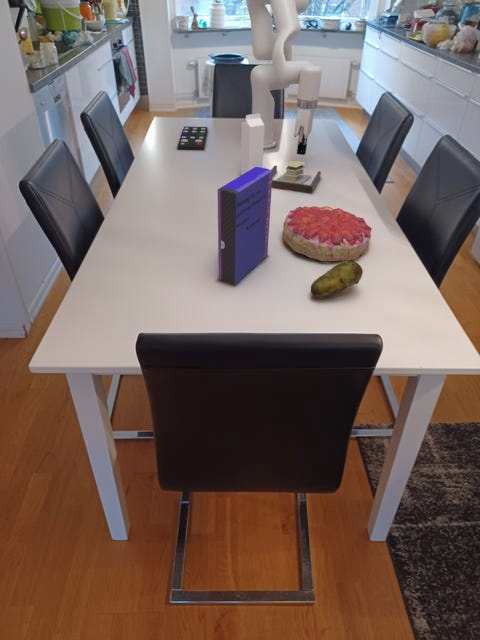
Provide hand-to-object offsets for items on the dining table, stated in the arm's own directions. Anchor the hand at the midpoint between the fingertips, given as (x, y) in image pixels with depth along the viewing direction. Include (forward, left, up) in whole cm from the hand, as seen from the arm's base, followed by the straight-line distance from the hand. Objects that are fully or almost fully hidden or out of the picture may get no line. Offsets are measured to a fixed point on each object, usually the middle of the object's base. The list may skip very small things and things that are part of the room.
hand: (301, 153), depth 180 cm
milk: (-9, -20, -6) cm, 23 cm away
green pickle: (+54, -70, -6) cm, 88 cm away
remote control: (-57, -1, -6) cm, 57 cm away
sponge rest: (+6, -15, -5) cm, 17 cm away
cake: (+39, -49, -6) cm, 63 cm away
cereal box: (+30, -75, -6) cm, 81 cm away
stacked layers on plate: (+5, -11, -6) cm, 14 cm away
